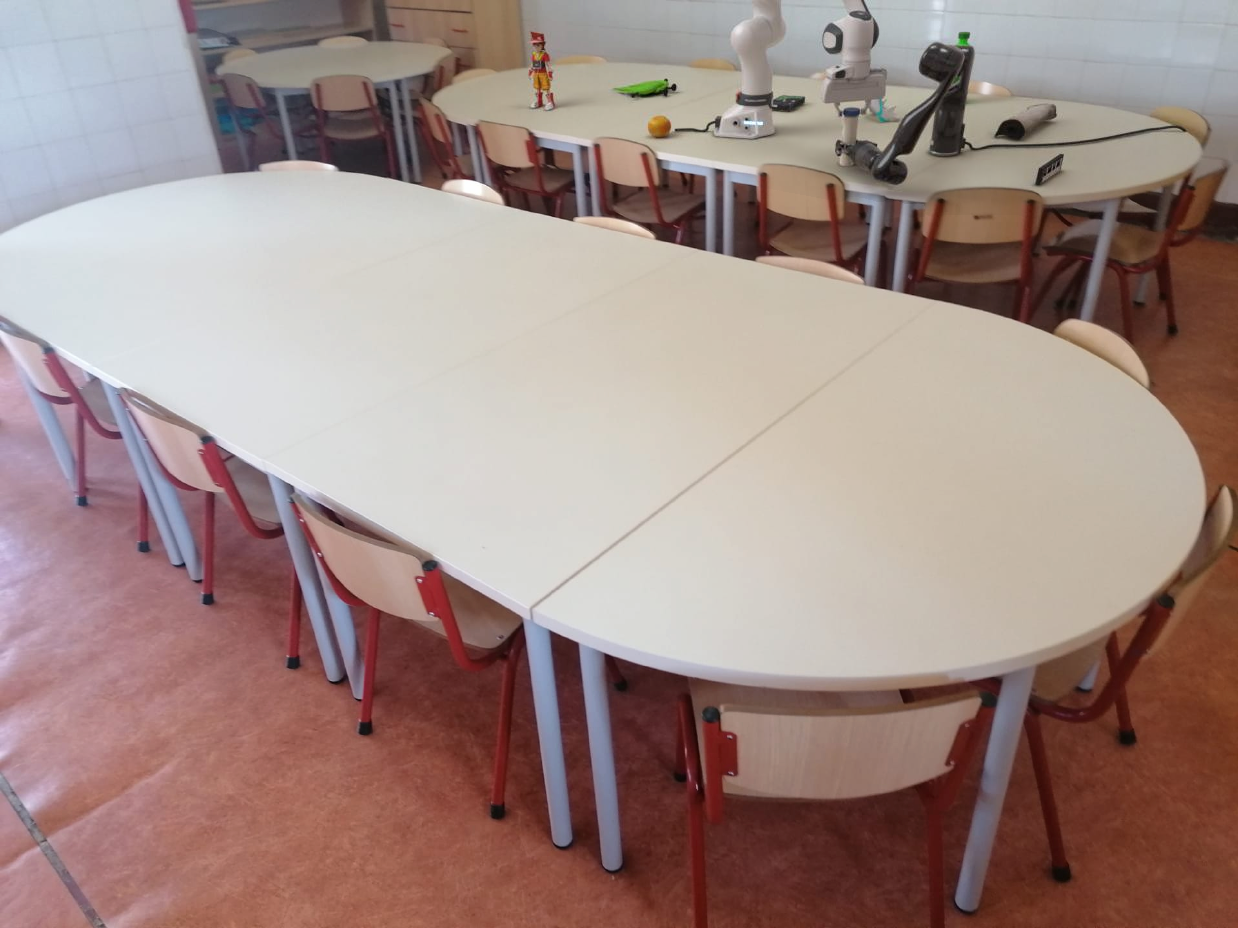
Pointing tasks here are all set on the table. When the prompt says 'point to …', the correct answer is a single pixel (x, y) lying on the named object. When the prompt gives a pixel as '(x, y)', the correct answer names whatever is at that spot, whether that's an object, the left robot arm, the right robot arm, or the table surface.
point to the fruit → (659, 126)
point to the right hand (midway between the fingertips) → (845, 142)
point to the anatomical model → (882, 110)
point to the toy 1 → (541, 71)
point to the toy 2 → (648, 88)
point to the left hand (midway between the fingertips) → (851, 115)
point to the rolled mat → (1026, 121)
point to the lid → (851, 111)
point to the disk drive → (787, 102)
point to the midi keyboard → (1049, 169)
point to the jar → (849, 137)
